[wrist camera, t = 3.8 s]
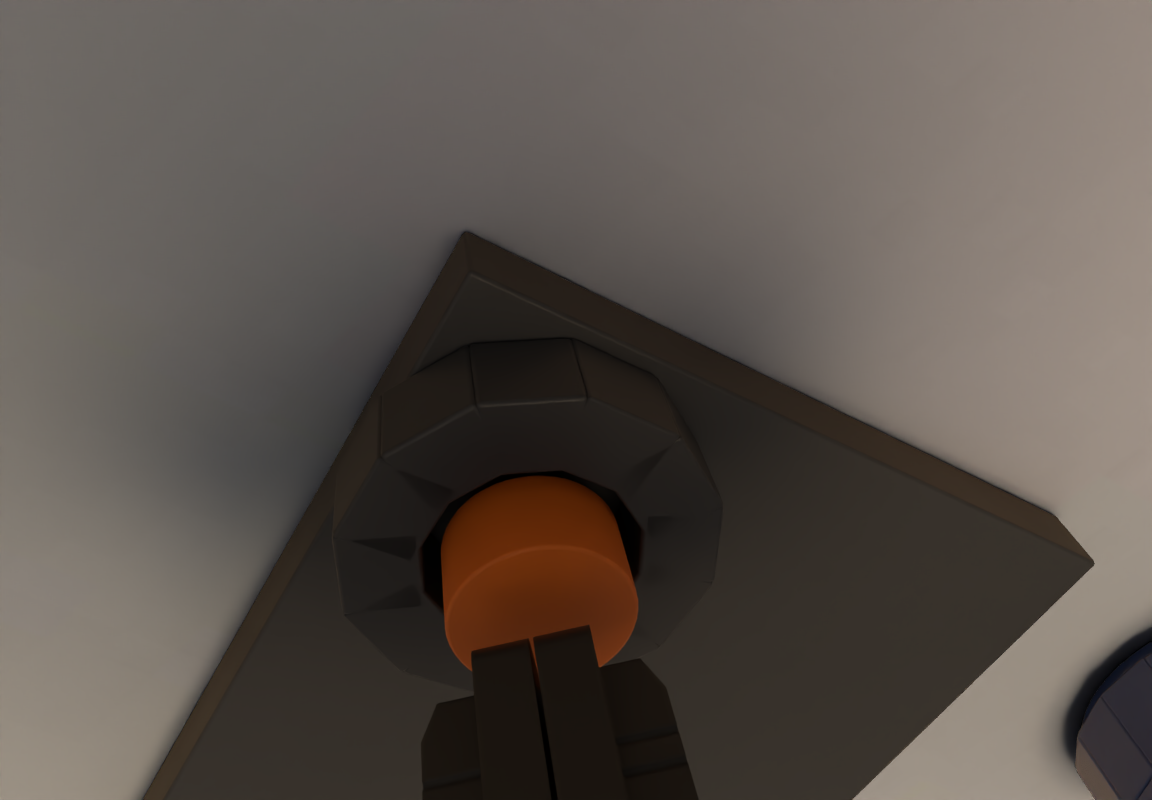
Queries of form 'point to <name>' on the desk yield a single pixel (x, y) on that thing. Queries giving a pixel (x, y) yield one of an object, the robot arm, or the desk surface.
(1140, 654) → the bowl
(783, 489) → the scale
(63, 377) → the desk surface
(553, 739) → the robot arm
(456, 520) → the button
